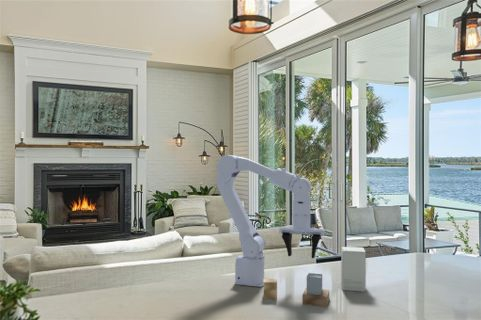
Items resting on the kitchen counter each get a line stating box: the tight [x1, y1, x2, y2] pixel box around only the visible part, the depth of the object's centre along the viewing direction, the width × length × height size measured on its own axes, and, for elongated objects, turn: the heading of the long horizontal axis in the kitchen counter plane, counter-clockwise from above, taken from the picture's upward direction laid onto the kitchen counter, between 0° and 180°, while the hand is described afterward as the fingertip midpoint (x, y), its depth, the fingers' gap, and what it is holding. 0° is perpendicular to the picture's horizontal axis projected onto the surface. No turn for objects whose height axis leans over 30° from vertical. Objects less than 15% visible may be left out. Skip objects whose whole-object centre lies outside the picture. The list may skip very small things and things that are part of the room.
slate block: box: [306, 272, 323, 295], centre depth 124 cm, size 4×4×5 cm
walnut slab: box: [301, 287, 330, 307], centre depth 124 cm, size 7×7×3 cm
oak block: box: [263, 277, 278, 300], centre depth 128 cm, size 4×4×5 cm
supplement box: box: [340, 246, 367, 292], centre depth 137 cm, size 7×7×13 cm
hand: (301, 256), depth 138 cm, fingers open, 7 cm apart
